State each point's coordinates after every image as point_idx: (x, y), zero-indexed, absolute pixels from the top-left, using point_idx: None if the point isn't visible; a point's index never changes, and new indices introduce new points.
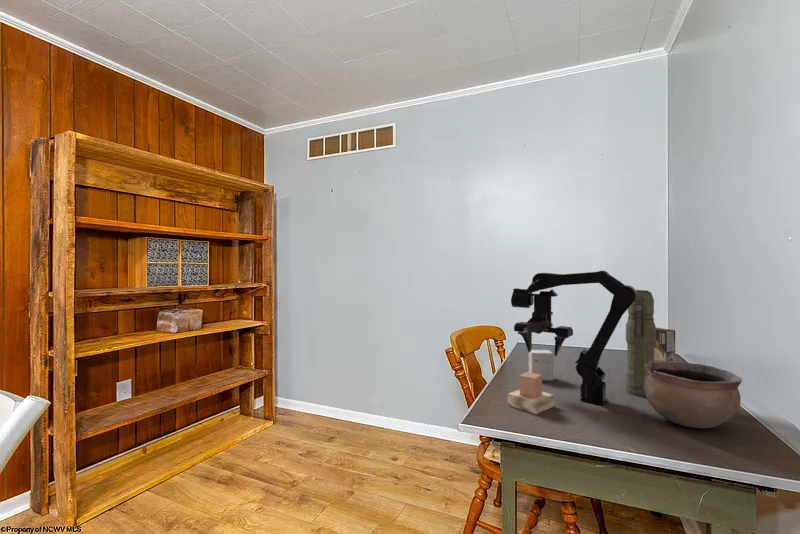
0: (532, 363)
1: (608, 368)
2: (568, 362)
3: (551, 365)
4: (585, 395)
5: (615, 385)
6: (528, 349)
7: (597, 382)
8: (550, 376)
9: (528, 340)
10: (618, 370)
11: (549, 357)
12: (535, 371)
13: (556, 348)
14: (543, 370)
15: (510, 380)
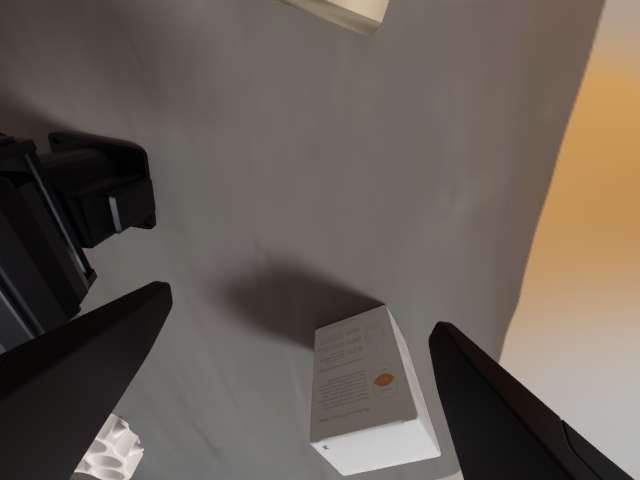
0: (399, 361)
1: (219, 461)
2: (318, 468)
3: (318, 379)
4: (114, 165)
5: (144, 362)
6: (463, 339)
7: None
8: (323, 338)
9: (537, 477)
10: (195, 456)
11: (325, 415)
12: (379, 335)
13: (57, 339)
14: (348, 349)
15: (469, 264)
